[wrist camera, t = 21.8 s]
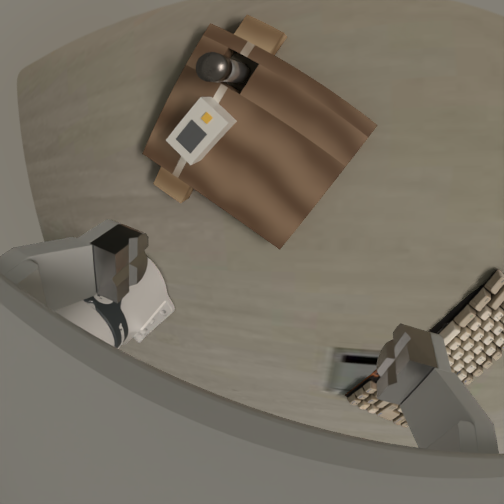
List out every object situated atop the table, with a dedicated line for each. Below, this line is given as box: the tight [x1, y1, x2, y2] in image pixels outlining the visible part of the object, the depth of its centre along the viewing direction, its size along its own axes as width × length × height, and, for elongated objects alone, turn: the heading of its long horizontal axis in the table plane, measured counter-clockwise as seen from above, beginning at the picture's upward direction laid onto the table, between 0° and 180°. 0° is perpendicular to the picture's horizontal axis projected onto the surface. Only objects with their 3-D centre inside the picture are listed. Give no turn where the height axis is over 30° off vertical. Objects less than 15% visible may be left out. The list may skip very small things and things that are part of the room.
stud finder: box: [166, 97, 237, 165], centre depth 35 cm, size 7×4×3 cm, turn 136°
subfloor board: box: [143, 15, 377, 249], centre depth 36 cm, size 26×23×2 cm
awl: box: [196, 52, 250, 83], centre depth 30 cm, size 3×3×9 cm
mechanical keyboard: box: [345, 269, 504, 428], centre depth 44 cm, size 38×19×3 cm, turn 155°
